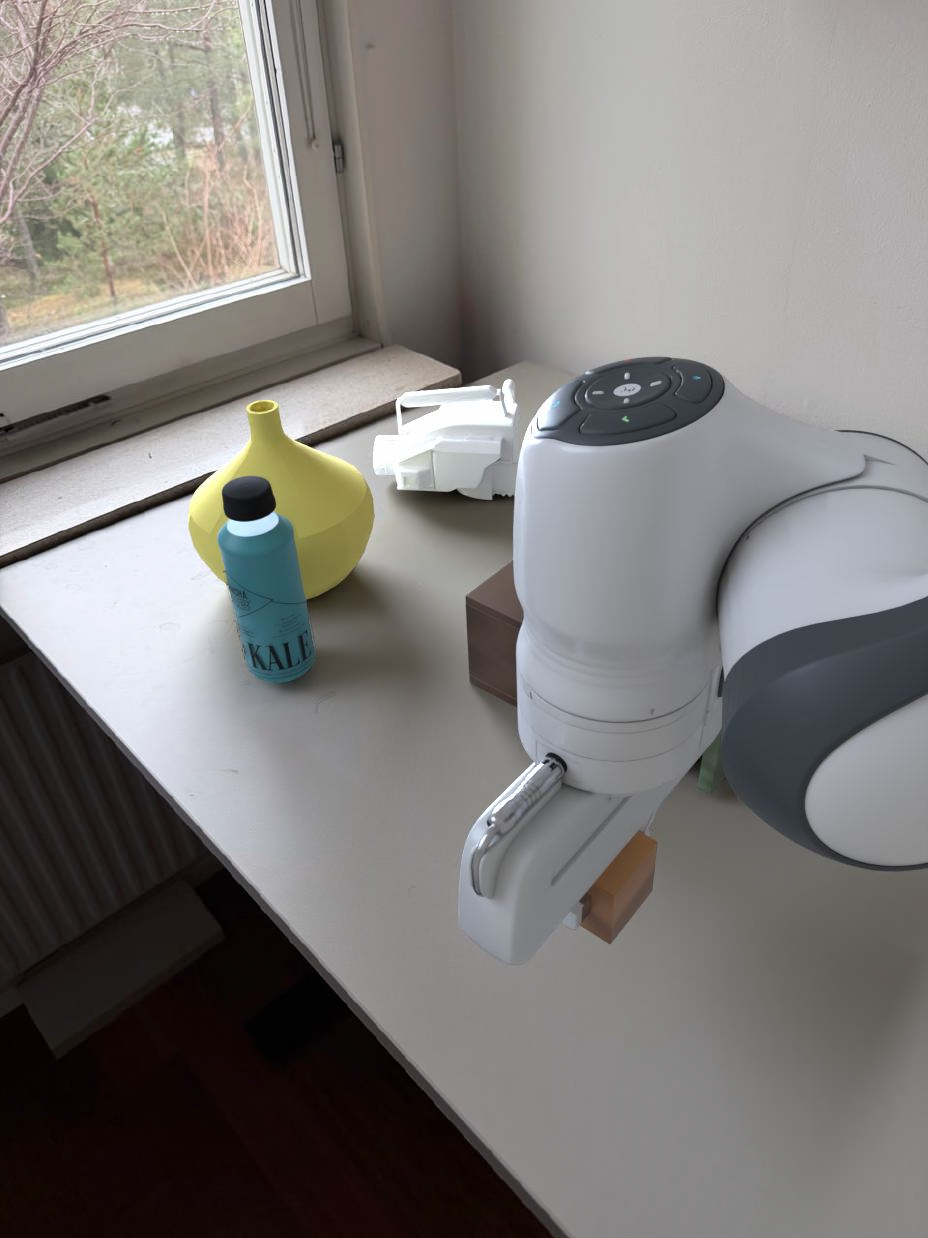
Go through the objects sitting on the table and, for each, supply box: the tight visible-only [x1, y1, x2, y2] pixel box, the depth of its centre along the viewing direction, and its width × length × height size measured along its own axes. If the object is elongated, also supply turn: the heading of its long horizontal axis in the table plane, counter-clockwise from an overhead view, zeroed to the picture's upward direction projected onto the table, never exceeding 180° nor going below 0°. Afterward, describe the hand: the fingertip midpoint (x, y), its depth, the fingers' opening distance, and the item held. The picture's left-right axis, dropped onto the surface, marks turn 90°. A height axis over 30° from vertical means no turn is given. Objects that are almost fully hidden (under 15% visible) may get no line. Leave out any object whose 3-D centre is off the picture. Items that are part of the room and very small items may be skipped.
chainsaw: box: [372, 379, 521, 501], centre depth 108 cm, size 15×35×12 cm, turn 82°
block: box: [579, 831, 659, 945], centre depth 53 cm, size 4×4×4 cm
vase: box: [187, 399, 376, 601], centre depth 92 cm, size 18×18×19 cm
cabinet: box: [464, 559, 524, 708], centre depth 81 cm, size 16×13×10 cm
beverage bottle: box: [217, 476, 318, 684], centre depth 80 cm, size 6×7×20 cm
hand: (600, 879), depth 53 cm, fingers closed on block, 4 cm apart
